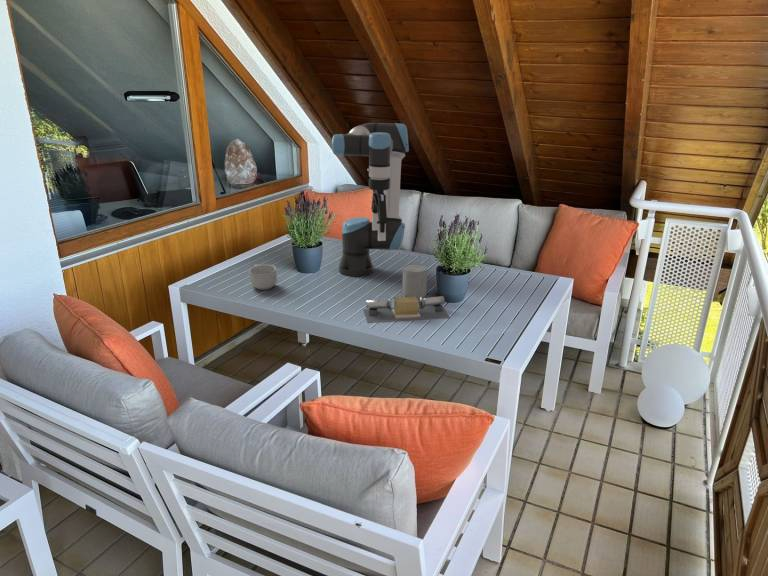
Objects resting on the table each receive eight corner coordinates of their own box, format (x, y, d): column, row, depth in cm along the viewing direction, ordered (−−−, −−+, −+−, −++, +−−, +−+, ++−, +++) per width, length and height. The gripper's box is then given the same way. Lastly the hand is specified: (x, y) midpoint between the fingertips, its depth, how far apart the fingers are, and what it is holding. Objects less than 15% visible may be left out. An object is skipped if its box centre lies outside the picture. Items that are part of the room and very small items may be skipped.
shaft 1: (366, 315, 208) (366, 301, 206) (366, 310, 212) (366, 296, 210) (391, 315, 208) (391, 301, 206) (390, 310, 212) (391, 296, 210)
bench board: (363, 312, 213) (363, 309, 213) (441, 307, 218) (441, 304, 218) (367, 326, 202) (367, 323, 202) (450, 321, 207) (450, 318, 207)
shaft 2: (439, 306, 216) (440, 292, 214) (444, 311, 213) (445, 296, 210) (417, 309, 213) (418, 295, 211) (422, 314, 210) (423, 299, 208)
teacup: (279, 290, 232) (278, 271, 230) (252, 293, 229) (251, 274, 226) (272, 278, 244) (271, 260, 242) (247, 281, 241) (245, 263, 238)
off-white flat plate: (392, 310, 212) (392, 309, 212) (416, 309, 214) (416, 307, 214) (395, 318, 206) (395, 316, 206) (420, 316, 207) (420, 315, 207)
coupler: (415, 309, 212) (415, 296, 210) (417, 314, 208) (418, 301, 206) (393, 309, 211) (394, 297, 209) (395, 315, 207) (396, 302, 205)
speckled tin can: (398, 294, 230) (399, 265, 226) (420, 291, 234) (421, 262, 229) (407, 303, 222) (408, 273, 218) (430, 299, 225) (431, 270, 221)
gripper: (364, 171, 216) (363, 226, 224) (374, 185, 193) (373, 245, 201) (383, 171, 217) (383, 225, 225) (396, 184, 194) (394, 244, 202)
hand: (378, 235), depth 213 cm, fingers open, 13 cm apart
